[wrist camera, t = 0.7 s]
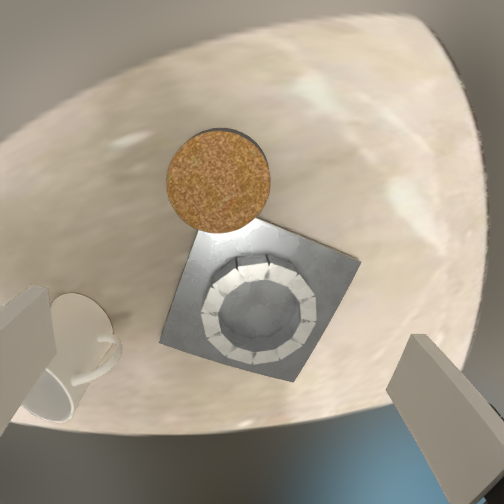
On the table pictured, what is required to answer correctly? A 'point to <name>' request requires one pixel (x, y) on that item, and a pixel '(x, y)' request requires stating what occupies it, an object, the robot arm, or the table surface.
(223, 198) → the bottle
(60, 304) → the mug
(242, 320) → the collar plate
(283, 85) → the table surface
